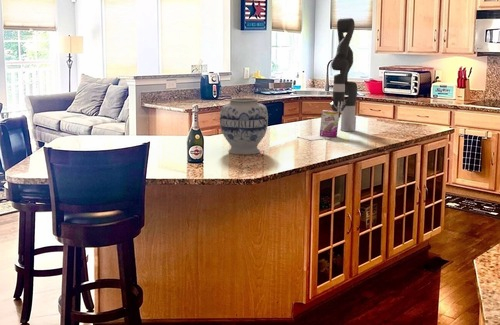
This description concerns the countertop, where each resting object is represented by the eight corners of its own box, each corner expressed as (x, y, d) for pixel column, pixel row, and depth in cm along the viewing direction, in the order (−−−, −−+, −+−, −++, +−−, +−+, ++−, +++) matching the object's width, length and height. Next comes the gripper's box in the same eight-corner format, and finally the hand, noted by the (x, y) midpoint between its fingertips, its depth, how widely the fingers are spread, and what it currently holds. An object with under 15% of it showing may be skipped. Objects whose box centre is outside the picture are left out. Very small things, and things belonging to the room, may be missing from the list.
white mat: (316, 135, 413) (316, 134, 413) (330, 138, 401) (330, 137, 401) (297, 137, 404) (297, 136, 404) (310, 140, 393) (310, 139, 393)
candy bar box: (319, 136, 406) (321, 110, 402) (319, 134, 410) (321, 109, 407) (337, 137, 405) (339, 112, 401) (336, 136, 409) (339, 111, 406)
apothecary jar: (211, 154, 349) (211, 99, 342) (232, 146, 372) (232, 95, 366) (256, 158, 338) (256, 102, 332) (274, 149, 362) (275, 97, 356)
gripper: (343, 90, 412) (341, 116, 415) (327, 90, 405) (326, 117, 409) (350, 91, 406) (349, 117, 409) (334, 91, 399) (333, 118, 402)
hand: (337, 117), depth 409 cm, fingers closed
